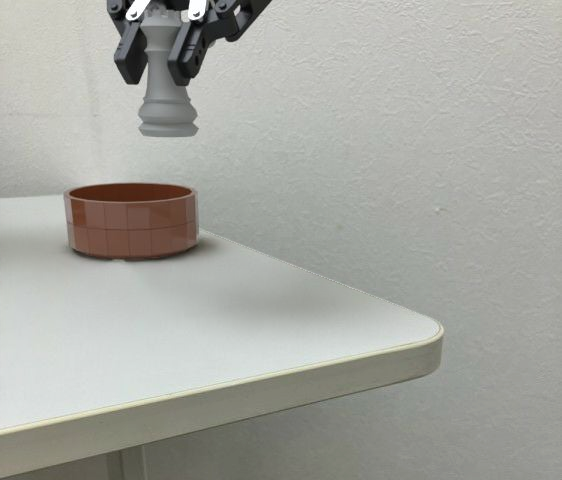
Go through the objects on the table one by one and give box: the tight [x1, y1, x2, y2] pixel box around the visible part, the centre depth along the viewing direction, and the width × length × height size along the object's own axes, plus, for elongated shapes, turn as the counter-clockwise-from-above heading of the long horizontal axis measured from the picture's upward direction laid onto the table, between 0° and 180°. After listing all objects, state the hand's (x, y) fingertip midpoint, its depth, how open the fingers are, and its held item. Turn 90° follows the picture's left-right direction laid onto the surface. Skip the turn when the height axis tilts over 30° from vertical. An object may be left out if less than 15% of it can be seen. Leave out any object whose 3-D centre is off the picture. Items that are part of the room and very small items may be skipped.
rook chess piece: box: [137, 9, 200, 138], centre depth 47 cm, size 4×4×8 cm
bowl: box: [63, 181, 200, 261], centre depth 73 cm, size 14×14×6 cm
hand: (151, 75), depth 45 cm, fingers closed on rook chess piece, 3 cm apart
